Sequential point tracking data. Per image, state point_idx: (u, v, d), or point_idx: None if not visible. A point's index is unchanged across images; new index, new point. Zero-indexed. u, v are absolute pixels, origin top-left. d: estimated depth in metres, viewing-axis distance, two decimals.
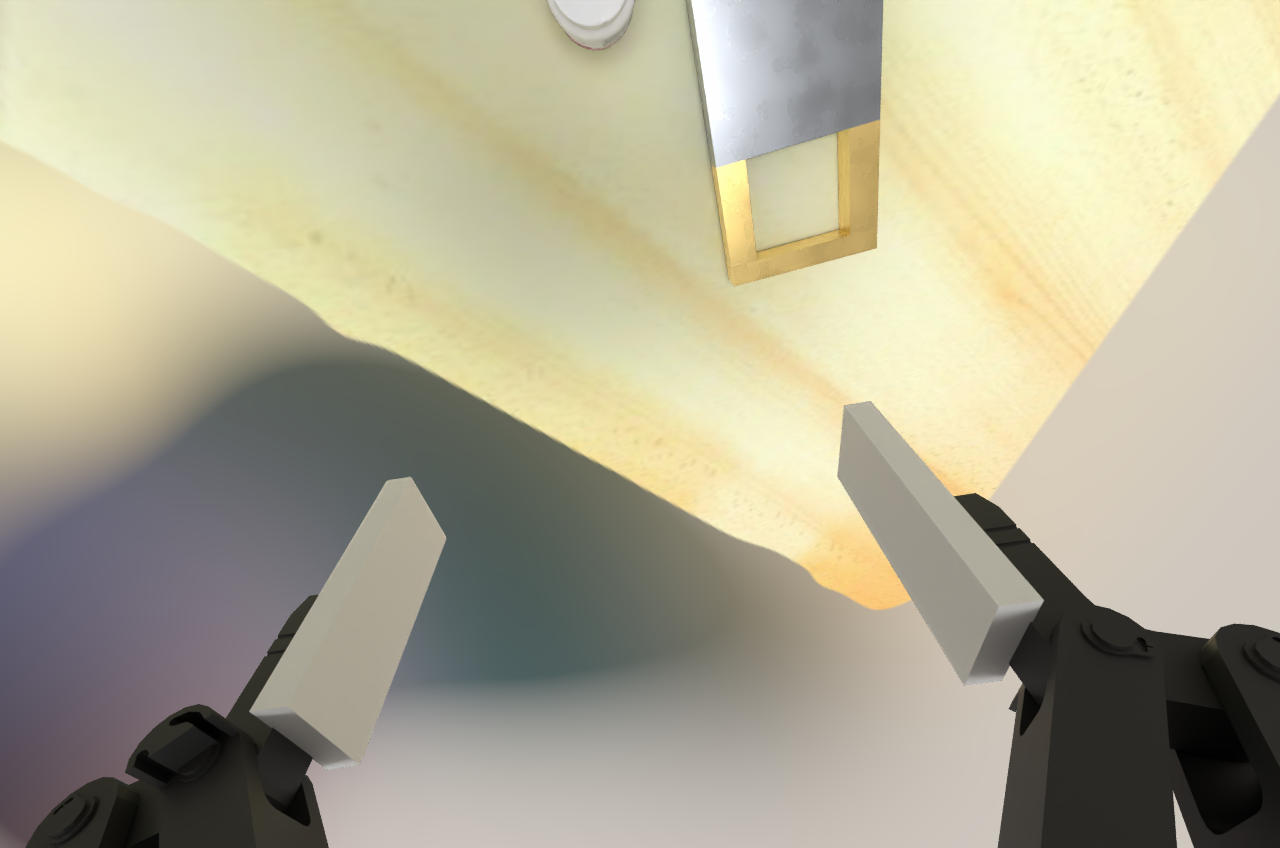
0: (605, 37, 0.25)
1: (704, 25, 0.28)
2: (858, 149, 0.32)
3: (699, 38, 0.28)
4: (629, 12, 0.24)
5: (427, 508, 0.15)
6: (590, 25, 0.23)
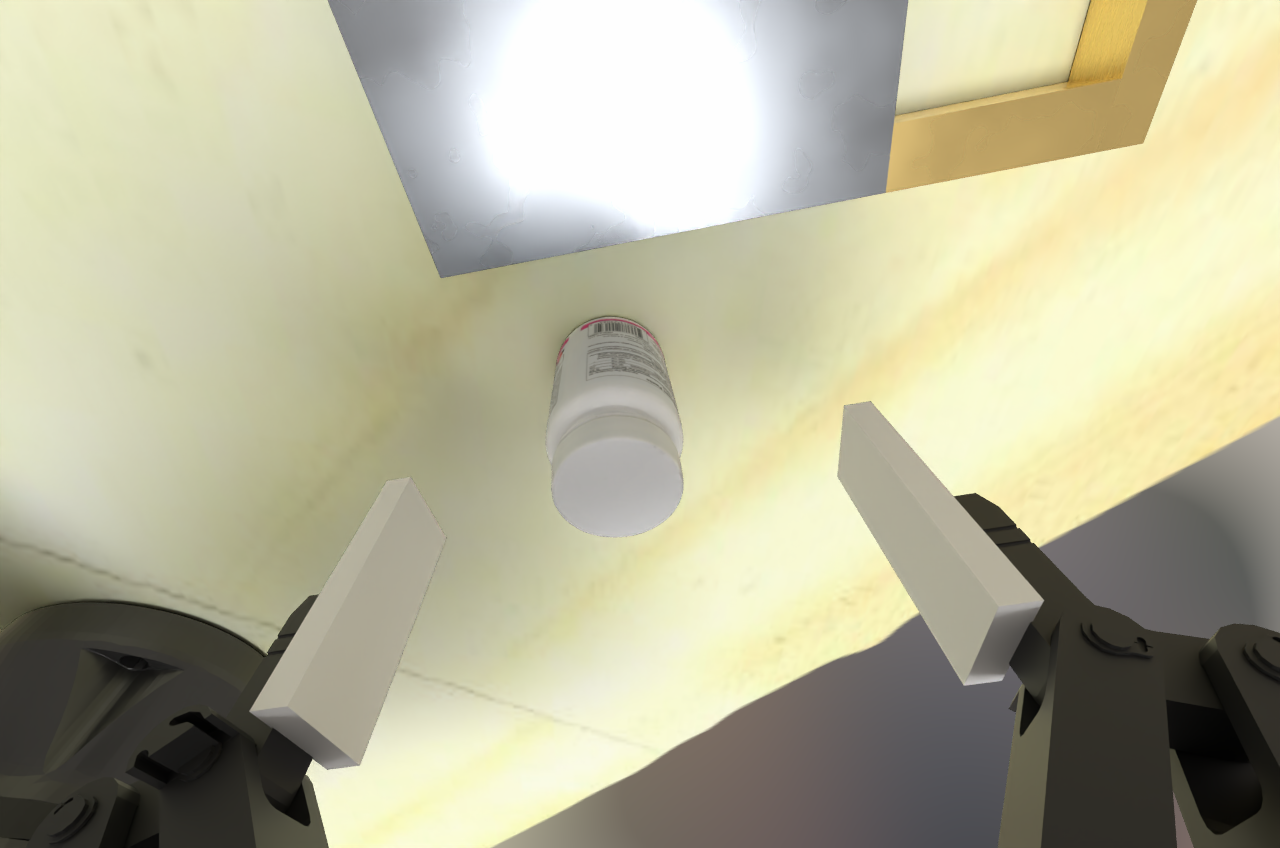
0: (682, 431, 0.16)
1: (661, 219, 0.16)
2: None
3: (678, 228, 0.16)
4: (656, 397, 0.15)
5: (427, 508, 0.15)
6: (681, 492, 0.14)
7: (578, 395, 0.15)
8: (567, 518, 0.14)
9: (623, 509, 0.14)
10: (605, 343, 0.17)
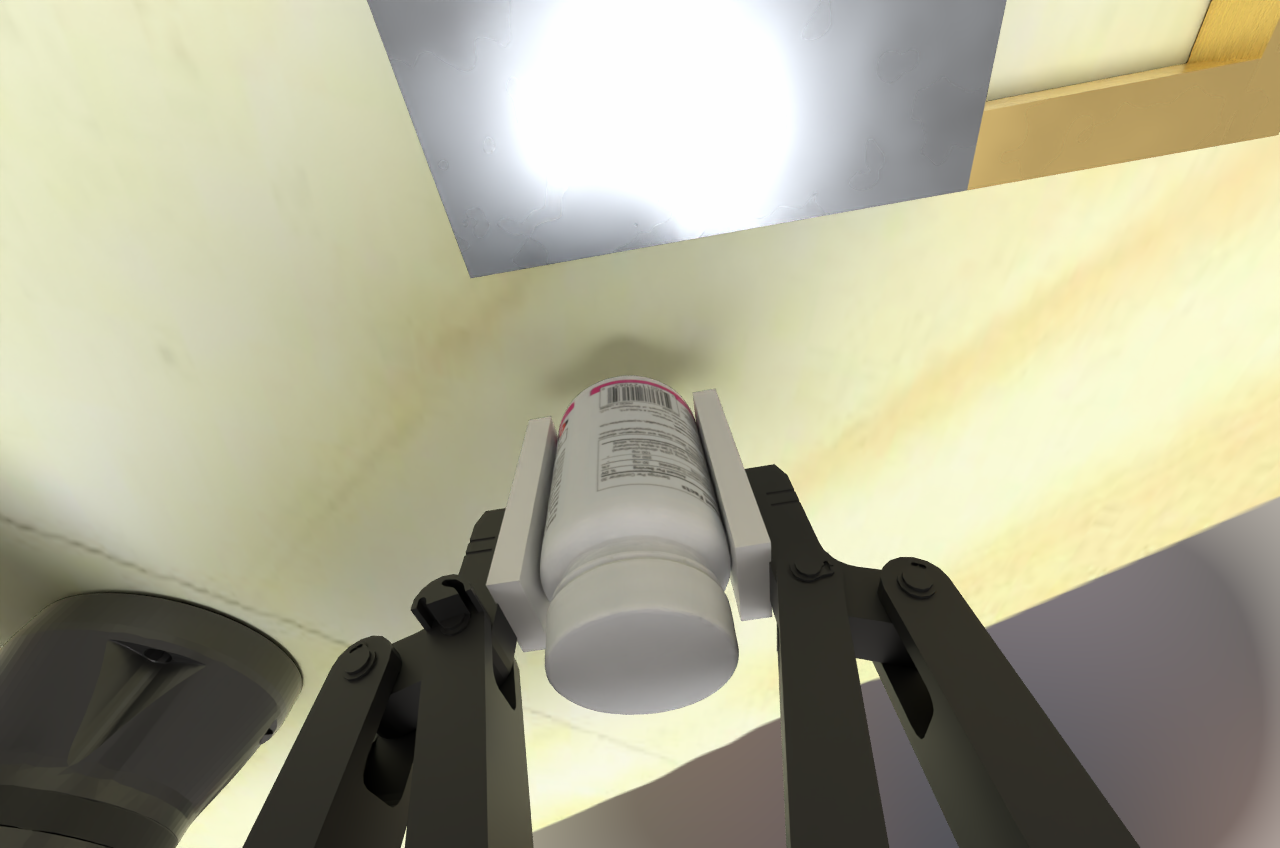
0: (730, 557, 0.11)
1: (711, 217, 0.14)
2: None
3: (729, 227, 0.15)
4: (697, 518, 0.11)
5: None
6: (735, 667, 0.10)
7: (586, 517, 0.10)
8: (568, 698, 0.10)
9: (648, 687, 0.10)
10: (623, 422, 0.13)
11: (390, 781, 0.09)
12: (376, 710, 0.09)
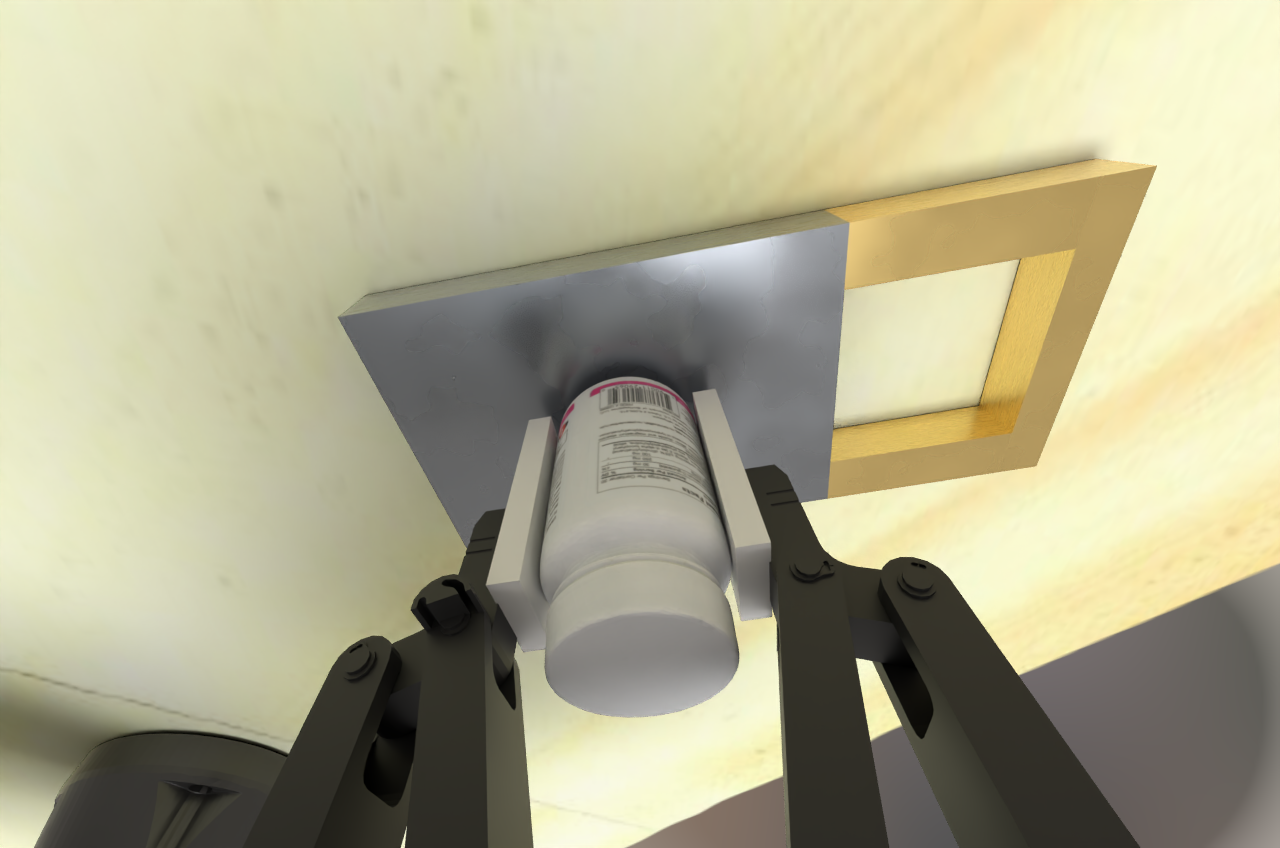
0: (730, 559, 0.11)
1: None
2: (892, 262, 0.14)
3: None
4: (697, 520, 0.10)
5: None
6: (736, 670, 0.10)
7: (586, 519, 0.10)
8: (568, 701, 0.10)
9: (649, 690, 0.10)
10: (623, 424, 0.13)
11: (390, 781, 0.09)
12: (376, 710, 0.09)
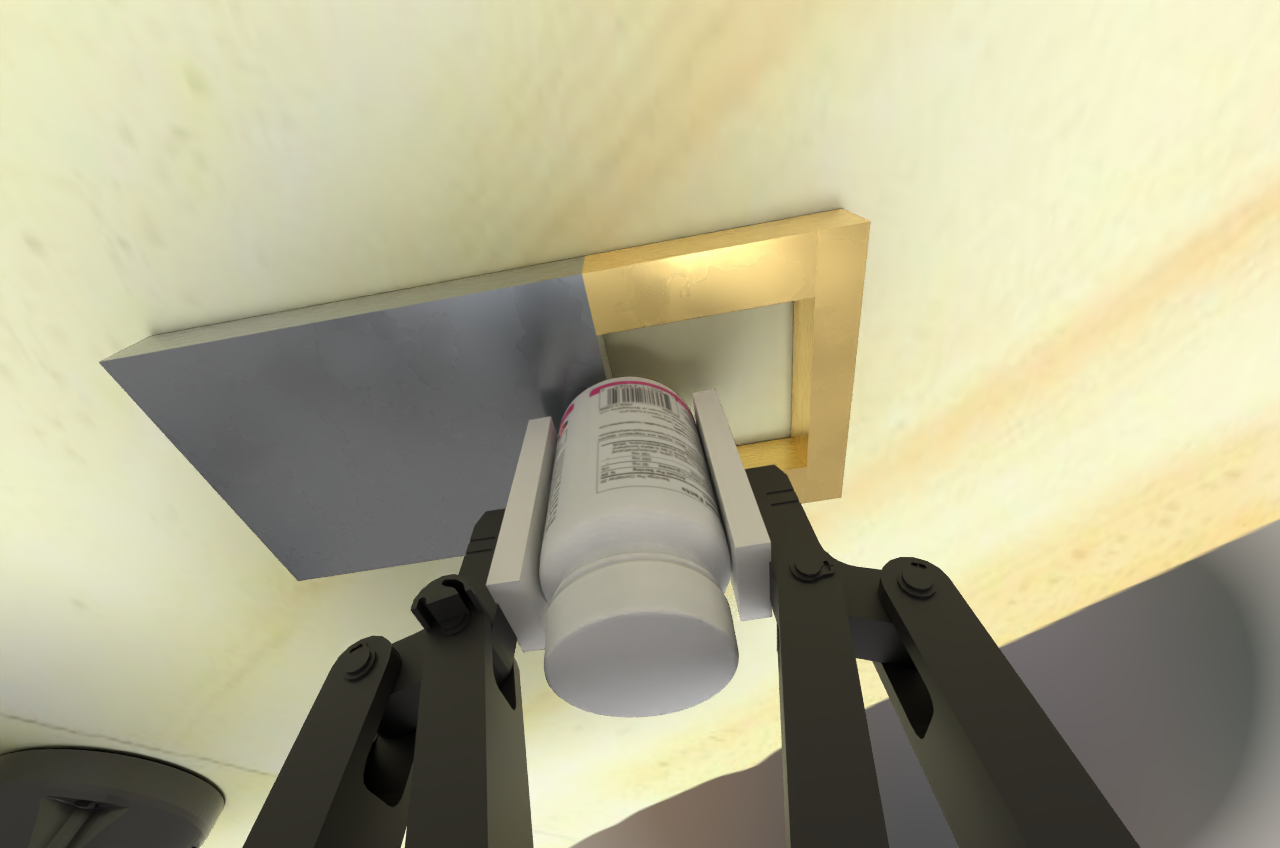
0: (730, 559, 0.11)
1: (465, 546, 0.20)
2: (636, 310, 0.15)
3: None
4: (697, 520, 0.10)
5: None
6: (735, 670, 0.10)
7: (585, 519, 0.10)
8: (567, 700, 0.10)
9: (649, 690, 0.10)
10: (622, 424, 0.13)
11: (390, 781, 0.09)
12: (376, 710, 0.09)
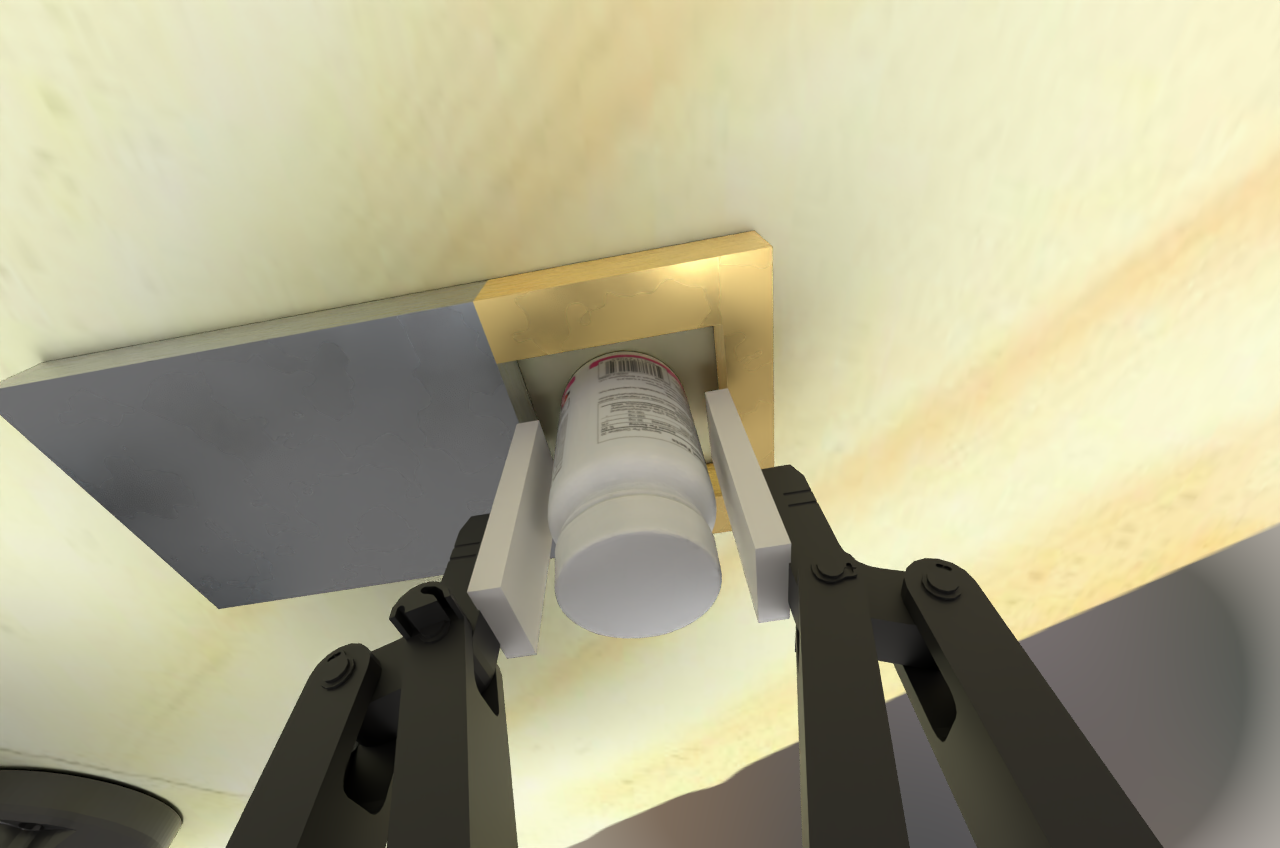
0: (715, 502, 0.13)
1: (387, 574, 0.20)
2: (535, 338, 0.14)
3: (404, 578, 0.20)
4: (685, 465, 0.12)
5: (548, 451, 0.16)
6: (719, 590, 0.11)
7: (588, 464, 0.12)
8: (574, 620, 0.12)
9: (644, 609, 0.11)
10: (619, 389, 0.14)
11: (371, 789, 0.09)
12: (355, 717, 0.09)
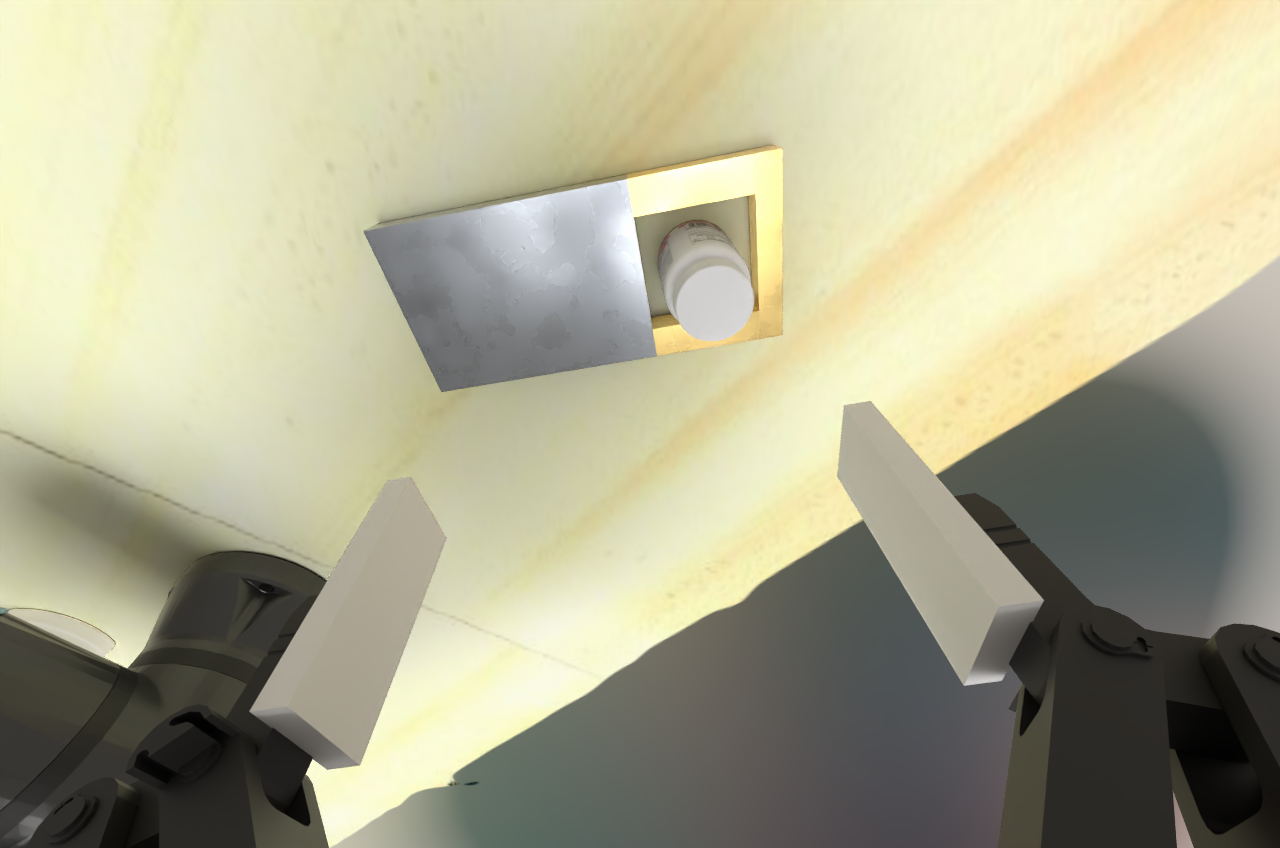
0: (750, 280, 0.25)
1: (547, 367, 0.33)
2: (656, 201, 0.27)
3: (555, 371, 0.33)
4: (736, 254, 0.24)
5: (427, 508, 0.15)
6: (752, 308, 0.24)
7: (689, 251, 0.24)
8: (682, 324, 0.24)
9: (716, 319, 0.24)
10: (699, 230, 0.27)
11: None
12: None
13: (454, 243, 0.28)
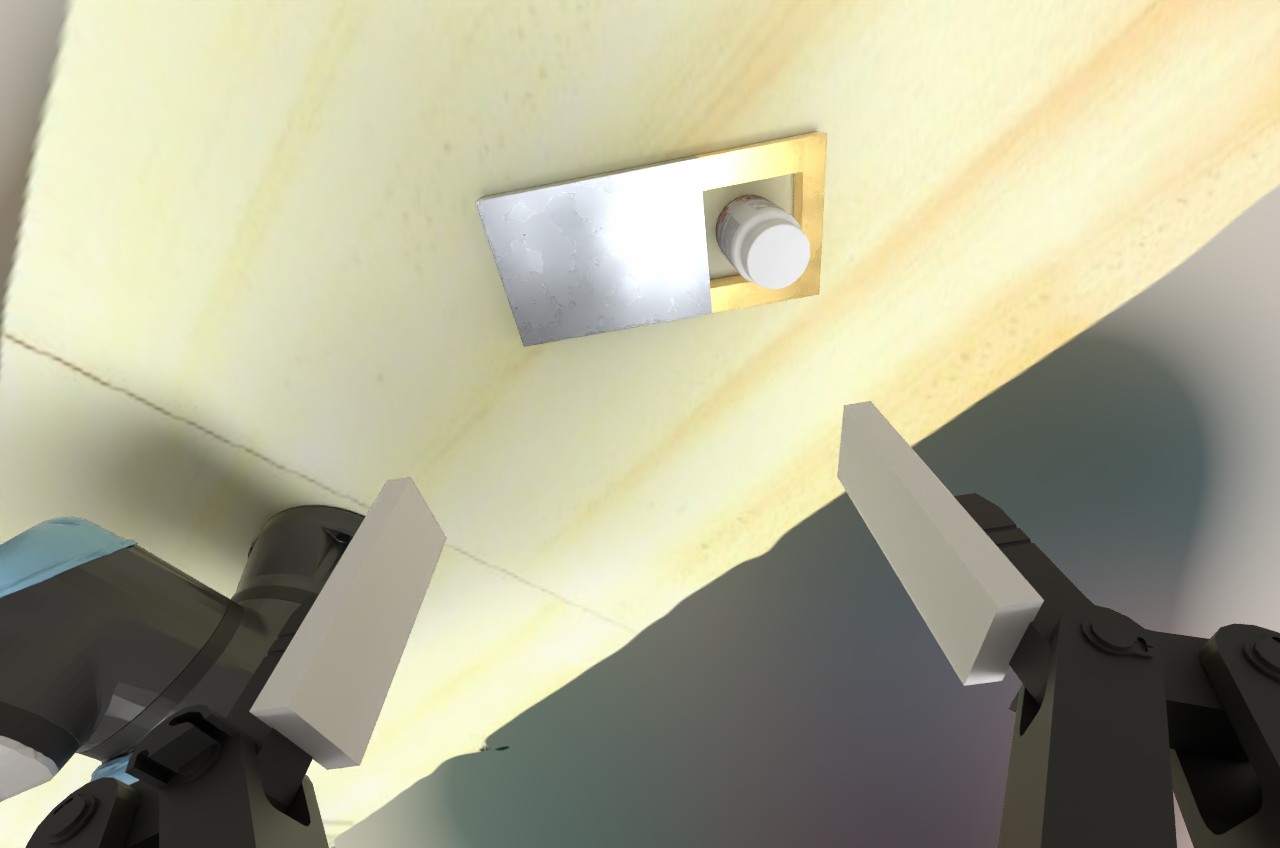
0: None
1: (617, 323, 0.38)
2: (721, 177, 0.32)
3: (624, 327, 0.38)
4: (793, 218, 0.30)
5: (427, 508, 0.15)
6: (808, 260, 0.29)
7: (756, 215, 0.30)
8: (751, 274, 0.30)
9: (779, 269, 0.30)
10: (757, 201, 0.32)
11: None
12: None
13: (550, 212, 0.33)
